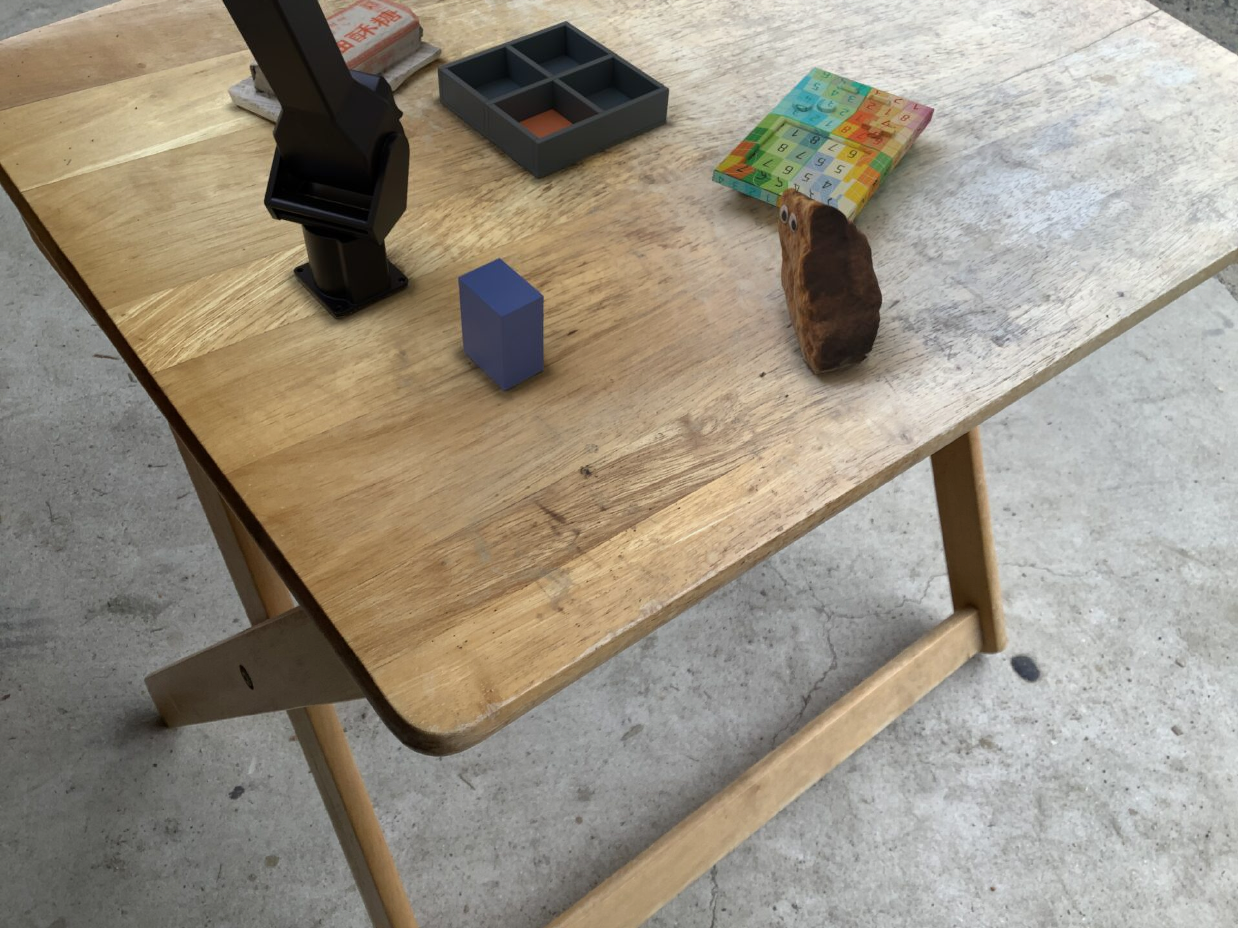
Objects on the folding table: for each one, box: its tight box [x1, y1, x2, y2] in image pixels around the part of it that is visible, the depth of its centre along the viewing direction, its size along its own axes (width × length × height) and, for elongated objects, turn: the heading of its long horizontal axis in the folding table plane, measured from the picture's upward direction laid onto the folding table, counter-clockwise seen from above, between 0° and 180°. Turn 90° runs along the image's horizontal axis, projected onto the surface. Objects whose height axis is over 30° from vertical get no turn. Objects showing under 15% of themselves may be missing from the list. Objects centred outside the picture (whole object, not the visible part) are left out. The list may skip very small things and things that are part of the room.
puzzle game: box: [711, 67, 935, 222], centre depth 94 cm, size 12×5×20 cm
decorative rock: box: [777, 188, 883, 375], centre depth 79 cm, size 12×6×11 cm, turn 11°
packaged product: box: [227, 0, 443, 123], centre depth 100 cm, size 18×5×10 cm
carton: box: [457, 257, 545, 392], centre depth 76 cm, size 5×4×7 cm
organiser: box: [437, 20, 670, 180], centre depth 99 cm, size 15×15×4 cm
